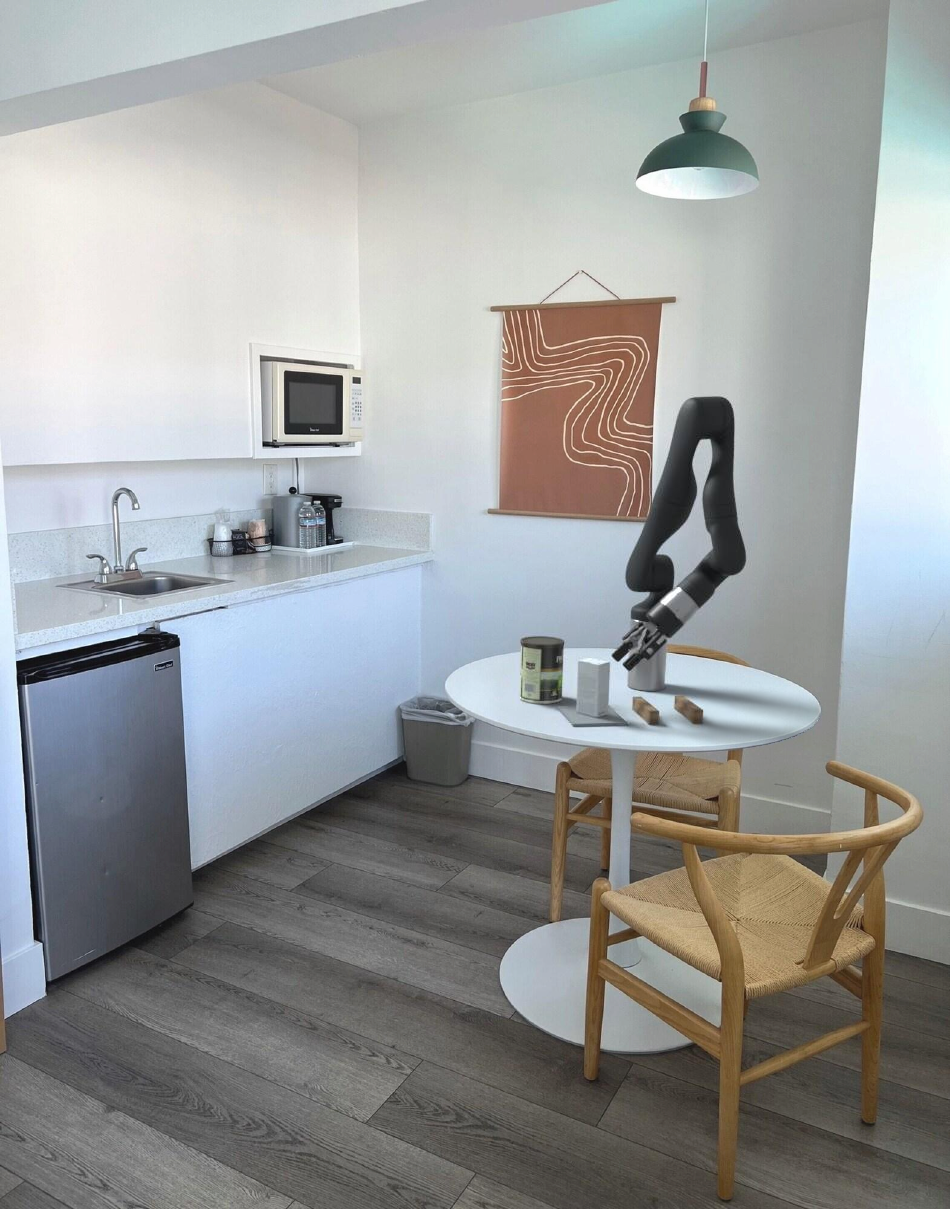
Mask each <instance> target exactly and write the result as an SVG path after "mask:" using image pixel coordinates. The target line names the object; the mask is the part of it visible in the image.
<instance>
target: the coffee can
mask: <svg viewBox="0 0 950 1209" xmlns="http://www.w3.org/2000/svg"><path fill="white" fill-rule="evenodd" d="M519 642H520V659H519V660H520V661H519V662H520V663H519V666H520V669H519V697H518V698H519V700H521V701H522V702H526V703H529V702H530V704H536V705H537V704H538V705H539V704H540V705H551V704H556V702H557V703H559V701H560V702H562V700H563V674H564V673H563V672H564V671H563V670H564V649H565V648H564V647H565V640H564V639H562V638H559V637H555V636H543V635H539V636H538V635H537V636H536V635H535V636H526V637H522V638H521V639H520V640H519Z"/></svg>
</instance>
